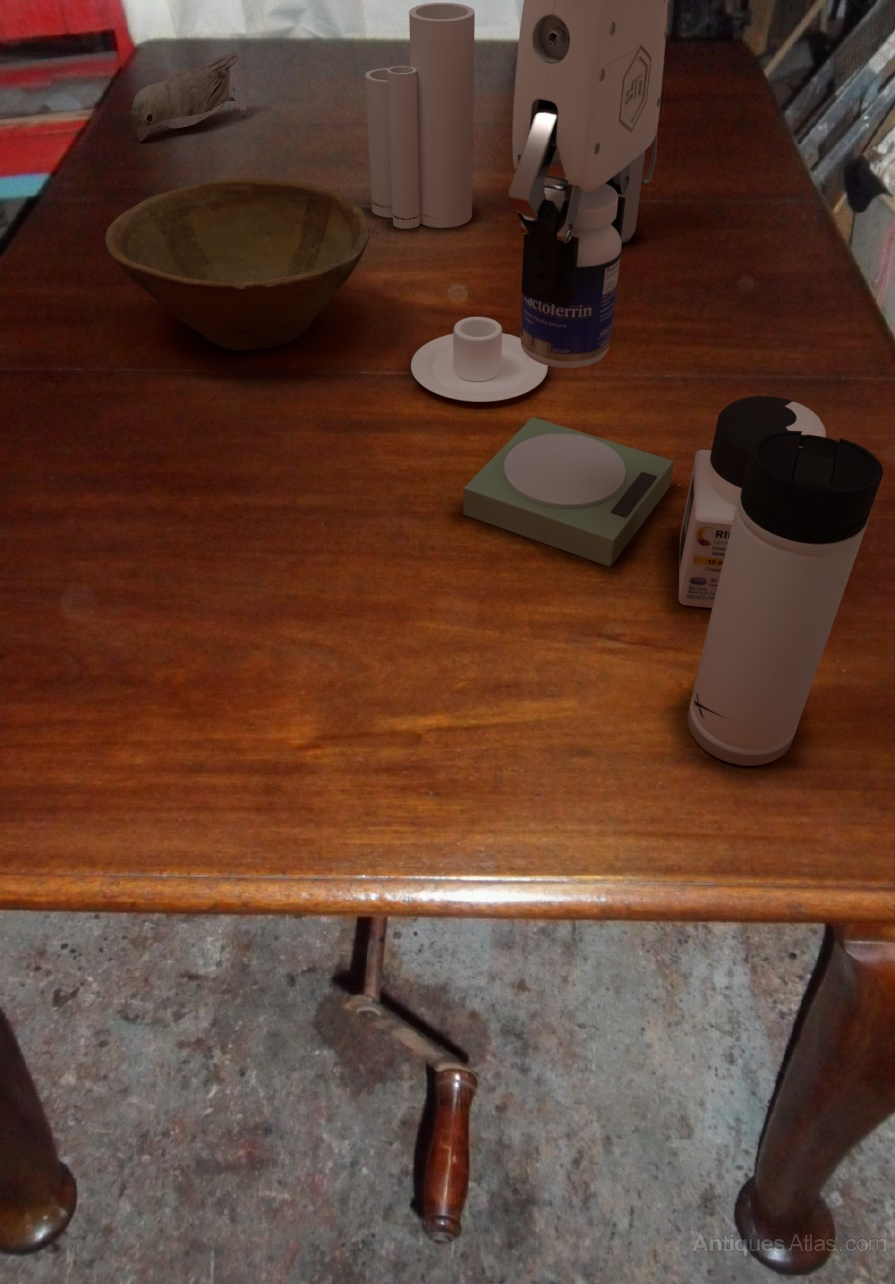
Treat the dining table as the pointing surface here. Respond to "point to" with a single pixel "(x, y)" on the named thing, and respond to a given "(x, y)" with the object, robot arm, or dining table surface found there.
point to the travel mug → (779, 591)
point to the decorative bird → (185, 93)
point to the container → (727, 487)
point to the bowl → (241, 255)
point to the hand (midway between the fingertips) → (571, 275)
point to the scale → (568, 490)
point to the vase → (425, 122)
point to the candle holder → (477, 363)
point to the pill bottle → (579, 290)
